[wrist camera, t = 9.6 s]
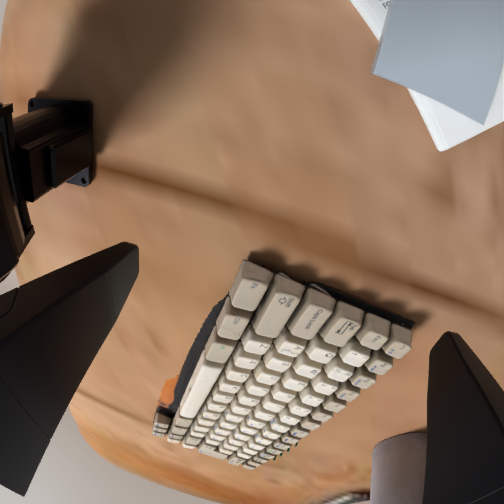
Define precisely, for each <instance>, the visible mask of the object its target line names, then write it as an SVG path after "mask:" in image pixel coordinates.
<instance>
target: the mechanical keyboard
mask: <svg viewBox="0 0 504 504" xmlns="http://www.w3.org/2000/svg"><path fill="white" fill-rule="evenodd" d="M264 267H265V266H259V265H257V264H254V263H252V262H250V261H248V260H243V261H242V264H241V267H240V269H239V272H238V274H237V276H236V278H235V281H234V283H233V285H232V287H231V289H230V292H228V294H227V295H226V297H224V299H223V300H221V301H219V302H218V304H217V305H215V306H214V307H213V309H212V311H211V312H210V314H209V315H208V317H207V319H206V320H205V322H204V324H203V327H202V328H201V329H200V332H199V333H198V335H197V337H196V338H195V341H194V343H193V345H192V347H191V349H190V351H189V354H188V355H187V358H186V360H185V362H184V365H183V367H182V370H181V372H180V375H179V376H178V375H177V378H173V379H170V380H166V383H165V385H164V387H163V389H162V391H161V395H160V398H159V401H158V406H157V410H156V413H155V417H154V421H153V423H154V424H153V426H152V435H154V436H157V437H164V436H165V435H166V433H167V438H168V442H173V443H180V441H181V440H182V444H183V447H185V448H190V449H194V448H195V447H196V446H197V448H198V452H200V453H203V454H206V455H209V456H212V457H215V458H218V459H221V460H225V458H227V460H228V463H229V464H232V465H235V466H239V465H240V464H242V466H243V467H244V468H247V469H250V470H253V469H255V468H256V467H258V466H260V465H262V463H266V462H267V461H268V460H269V459H272V458H273V457H274V459H273V461H274V460H276V459H275V458H276V456H277V455H278V454H280V456H282V452H283V451H284V450H286V449H287V452H289V448H290V447H291V446H292V444H296V445H295V447H296V446H297V443H298V441H300V439H301V438H304V437H306V436H307V435H308V434H310V430H315V429H317V428H318V427H320V426H321V422H326V421H328V420H329V419H330V418H332V417H333V412H336V413H337V412H340V411H341V410H342V409H344V408H345V407H346V402H347V401H353V400H355V398H357V397H358V396H359V395H360V390H361V388H365V389H367V388H369V387H370V386H372V384H374V383H375V382H376V375H377V374H379V375H384V374H385V373H386V372H387V371H388V370H389V369H390V368H392V367H393V357H395V358H398V359H400V358H402V357H403V356H404V355H405V354H406V353H407V352H409V351H410V350H411V349H412V347H411V342H412V331H411V328H412V326H413V325H414V324H415V322H414V321H412V320H410V319H407V318H404V317H402V316H400V315H398V314H395V313H393V312H391V311H389V310H387V309H384V308H382V307H380V306H378V305H375V304H373V303H371V302H368V301H366V300H364V299H361V298H359V297H357V296H354V295H351V294H349V293H346V292H344V291H342V290H339V289H336V288H334V287H331V286H328V285H326V284H323V283H320V282H313V281H312V282H308V283H305V281H303V282H304V283H299V282H297V281H295V280H293V279H292V278H291V277H289V276H287V274H286V273H285V272H283V271H281V272H280V271H271V272H270V271H269V270H268V269H266V268H264Z"/></svg>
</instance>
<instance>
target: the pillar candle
mask: <svg viewBox="0 0 504 504" xmlns="http://www.w3.org/2000/svg"><path fill="white" fill-rule="evenodd" d="M426 445H427V433H426V432H421V433H419V432H415V433H407V434H401V435H397V436H394V437H391V438H388V439H385V440H383V441H381V442H379V443H378V444H377V445H376V447H375V448H374V449H373V452H372V475H371V494H370V504H422V499H423V489H424V478H425V465H426Z"/></svg>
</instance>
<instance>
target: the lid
mask: <svg viewBox="0 0 504 504" xmlns="http://www.w3.org/2000/svg"><path fill="white" fill-rule="evenodd" d="M503 63H504V0H390V3H389V7H388V11H387V15H386V18H385V22H384V26H383V29H382V33H381V37H380V40H379V44H378V47H377V51H376V54H375V58H374V61H373V65H372V68H371V71H370V73H371V74H374V75H377V76H379V77H382V78H385V79H387V80H390V81H392V82H395V83H397V84H399V85H402V86H404V87H407V88H409V89H411V90H413V91H416V92H418V93H420V94H422V95H425V96H427V97H429V98H431V99H433V100H435V101H437V102H439V103H441V104H443V105H445V106H447V107H449V108H451V109H453V110H455V111H457V112H459V113H461V114H463V115H465V116H466V117H468V118H470V119H472V120H474V121H475V122H477V123H479V124H481V125H483V126H484V124H485V121H486V118H487V115H488V112H489V109H490V106H491V103H492V100H493V97H494V94H495V91H496V88H497V84H498V81H499V78H500V74H501V71H502V67H503Z"/></svg>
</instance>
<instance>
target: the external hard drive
mask: <svg viewBox="0 0 504 504" xmlns="http://www.w3.org/2000/svg"><path fill="white" fill-rule="evenodd" d="M350 1H351V3H352V4H353V5H354V7H355V8H356V9H357V11H358V12H359V13H360V15H361V16H362V17H363V19H364V20H365V22H366V23H367V25H368V26H369V27H370V29H371V30H372V32H373V33H374V35H375V36H376V38H377V39H378V41H379V40H380V37H381V33H382V29H383V26H384V22H385V18H386V15H387V11H388V7H389V3H390V0H350ZM407 89H408V91H409V93H410V94H411V96H412V98H413V100H414V102H415V104H416V106H417V108H418V110H419V112H420V114H421V116H422V118H423V120H424V122H425V124H426V126H427V128H428V130H429V132H430V134H431V137H432V139H433V141H434V143H435V145H436V148H437V149H438V150H439V151H444V150H447V149H449V148H451V147H453V146H455V145H457V144H459V143H461V142H463V141H465V140H467V139H469V138H471V137H473V136H475V135H477V134H479V133H481V132H483V131H485V130H487V129H489V128H491V127H493V126H495V125H497V124H499V123H501V122H503V121H504V63H503V67H502V71H501V74H500V78H499V81H498V84H497V88H496V91H495V94H494V97H493V100H492V103H491V106H490V109H489V112H488V115H487V118H486V121H485V124H484V126H483V125H481V124H479V123H477V122H475V121H474V120H472V119H470V118H468V117H466V116H465V115H463V114H461V113H459V112H457V111H455V110H453V109H451V108H449V107H447V106H445V105H443V104H441V103H439V102H437V101H435V100H433V99H431V98H429V97H427V96H425V95H422V94H420V93H418V92H416V91H413V90H411V89H409V88H407Z"/></svg>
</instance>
